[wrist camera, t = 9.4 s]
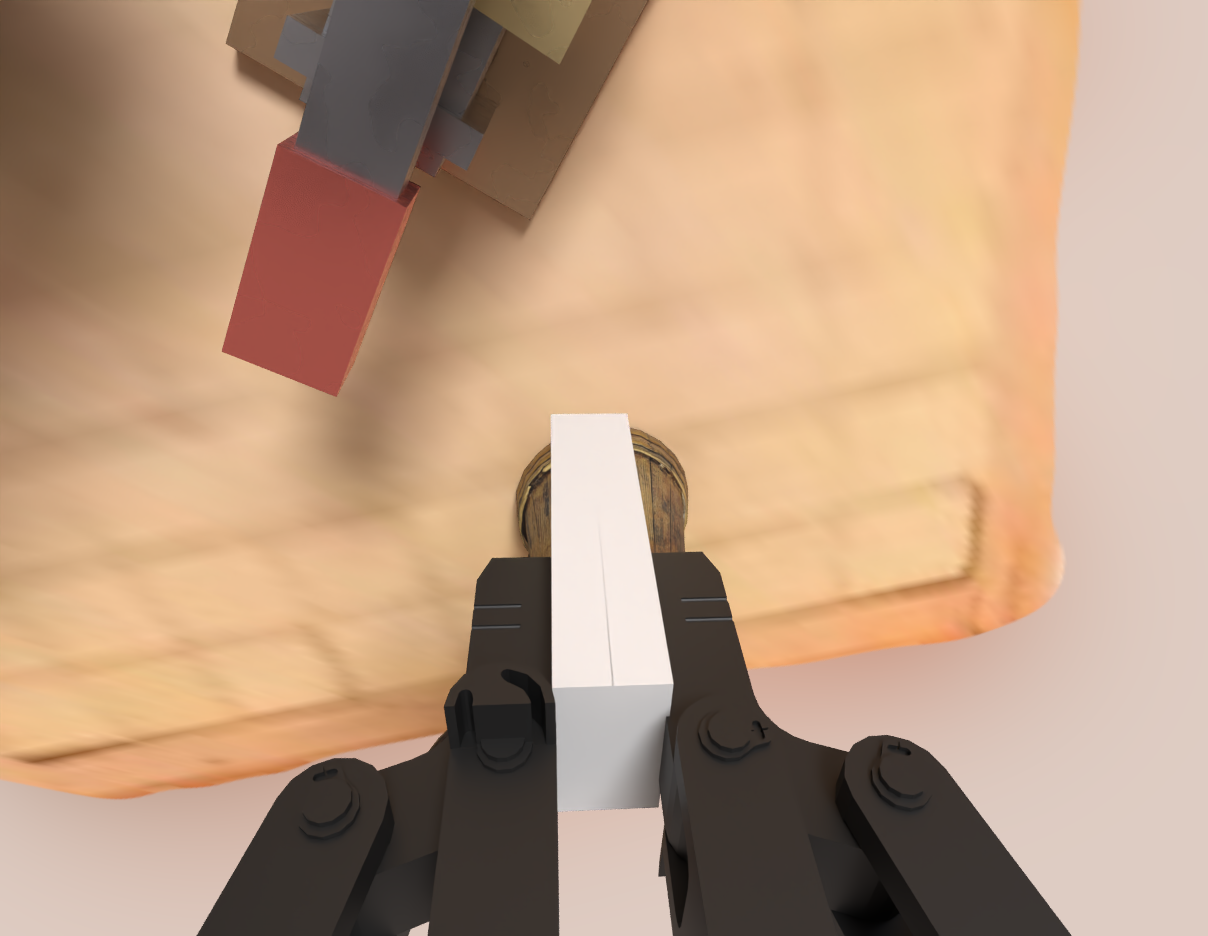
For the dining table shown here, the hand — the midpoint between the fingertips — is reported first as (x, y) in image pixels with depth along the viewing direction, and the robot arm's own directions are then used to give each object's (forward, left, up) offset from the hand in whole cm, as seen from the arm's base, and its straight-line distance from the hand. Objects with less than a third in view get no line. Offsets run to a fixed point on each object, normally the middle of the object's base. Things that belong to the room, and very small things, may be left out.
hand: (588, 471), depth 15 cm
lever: (-7, +3, -9) cm, 12 cm away
